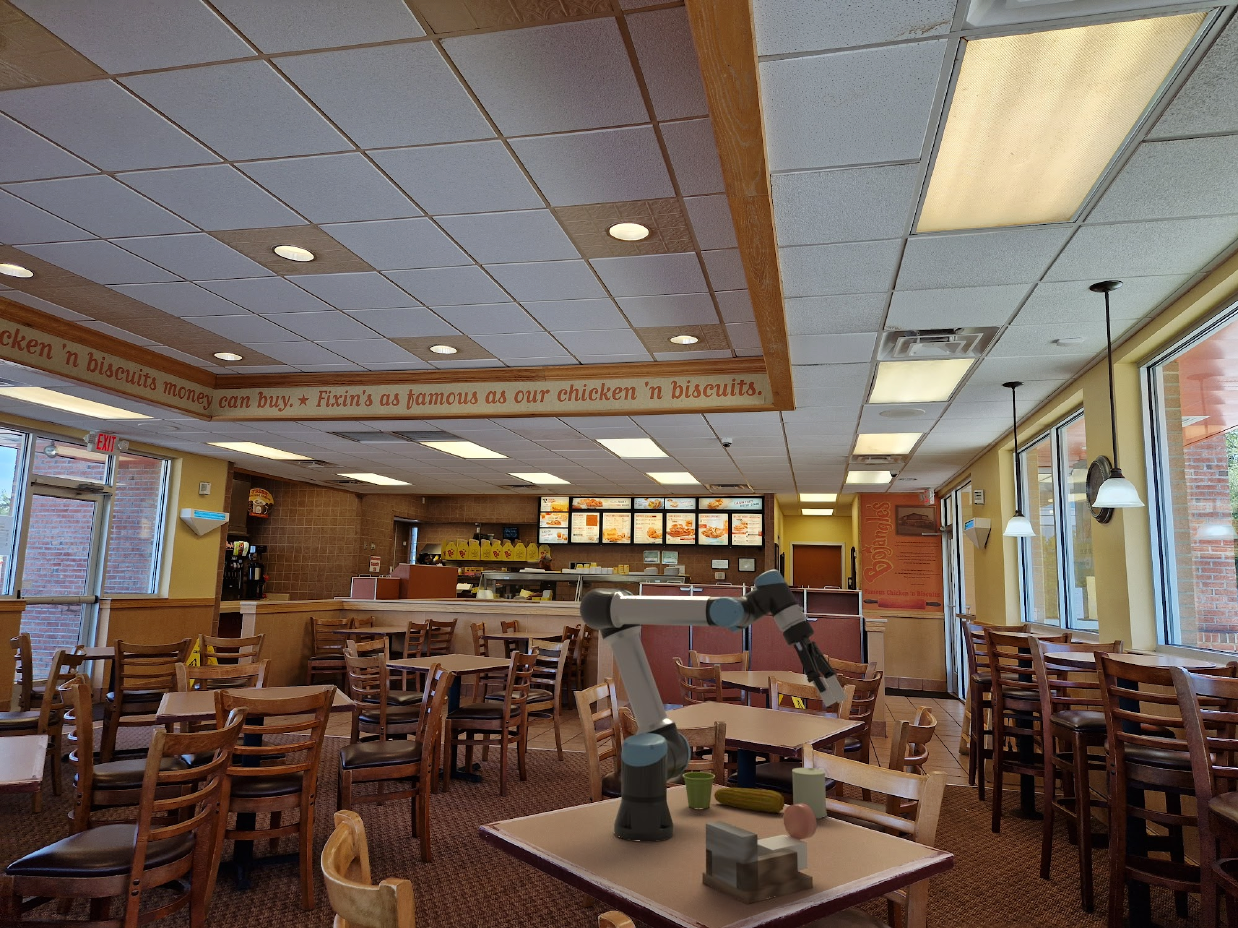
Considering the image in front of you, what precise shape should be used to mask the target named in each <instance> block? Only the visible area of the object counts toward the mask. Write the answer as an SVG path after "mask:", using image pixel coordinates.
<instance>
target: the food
mask: <svg viewBox="0 0 1238 928" xmlns="http://www.w3.org/2000/svg"><path fill="white" fill-rule="evenodd" d="M713 796H714V798H715V799H714V800H715V801H717V802H718V803H720V804H721V805H724V806H727V805H729V807H732V806H735V807H734V808H737V807H738V808H737V809H741V808H743V809H742V810H747V811H757V812H762V813H771V814H777V813H780V812H782V811H784V807H785V797H784V796H782V794H781V793H779V792H778V791H774V790H770V789H758V788H757V789H756V788H746V787H745V788H744V787H743V788H742V787H722V788H718V789H716V791H715V792H714V794H713Z"/></svg>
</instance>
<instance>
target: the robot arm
mask: <svg viewBox="0 0 1238 928" xmlns="http://www.w3.org/2000/svg"><path fill="white" fill-rule="evenodd" d="M753 582H754V585H755V586H754V587H755V588H753V589H752V590H750V591H749V592H747V593H745V594H743V595H742V596H740V597H739V596H735V597H734V596H693V595H692V596H691V595H690V596H687V595H685V596H684V595H680V596H679V595H674V596H673V595H634V594H633V592H630V591H629V590H625V589H623V588H618V587H614V588H607V587H606V588H605V587H599V588H594V589H591V590H590V591H589V590H588V592H587V593H585V595H584V596H583V597H582V598H581V601H580V605H579V614H580V618H581V619H582V621H583V622H584V624H585V625H587V626H588V627H589V628H591V629H593V630H597V631H600V634H601V638H602V640H603V641H602V642H604V643H606V644H608V645H610V648H611V650H612V655H613V657H614V659H615V662H616V665H617V668H618V672H619V674H620V678H621V680H622V683H623V686H624V689H625V692H626V696H627V698H628V702H629V704H630V707H631V710H632V713H633V716H634V719H635V722H636V725H637V731H636V733H635V734H633V735H630V736H628V737H626V738H625V739H624V740H623V742H622V746H621V751H620V752H621V753H620V757H621V787H620V788H621V789H620V790H621V793H620V794H621V797H620V799H621V800H620V804H619V807H618V811H617V814H616V817H615V821H614V823H613V825H614V826H613V833H614V832H615V834H616V835H617V836H616V835H615V834H614V835H615V836H616V837H618V836H620V837H622V838H624V839H623V840H626V839H630V840H629V841H631V840H640V841H639V842H641V841H651V842H657V841H656V840H660V841H664V839H665V840H667V839H670V838H672V837H673V836H674V832H675V831H674V822H673V819H672V815H671V812H670V808H669V805H668V801H667V798H668V797H667V793H668V792H667V791H668V788H667V787H668V786H667V784H668V781H669V780H672V779H674V778H676V777H679V776H680V775H681V774H683V772H684V771H685V770H686V769H687V768H688V766H689V764H690V761H691V757H692V756H691V755H692V754H691V752H692V751H691V747H690V744H689V740H687V738H686V737H685V736H684V734H682V733H680V732H679V729H678V727H677V725H676V722H675V720H673V719H671V718H669V717H668V716H667V715H668V714H667V712H666V709H665V707H664V703H663V700H662V698H661V695H660V692H659V689H658V686H657V684H656V680H655V679H654V675H653V673H652V669H651V666H650V664H649V661H648V658H647V655H646V652H645V649H644V647H643V644H642V641H641V638H640V633H641V630H642V625H654V626H655V625H656V626H686V627H687V626H691V627H694V626H696V627H720V628H727V629H728V630H729V631H731V632H732V633H738V632H740V631H742V630H745V629H747V628H748V627H749V626H751V625H752V624H754V623H756V622H758V621H759V620H760V619H761V620H762V618H764V617H766V616H768V615H769V614H770V615H771V617H773V618H772V619H774V620H773V621H774V622H775V624H776V626H777V627H778V629H779V632H782V636H783V638H784V640H785V642H786V643H787V645H788V646H793V648H794V649H795V651H796V653H797V656H798V658H799V661H800V663H801V665H802V668H803V670H804V673H805V675H806V678H807V679H806V680H807V682H808V683H809V684H810V683H812V684H813V686H814V687H815V689H816V691H817V693H818V695H819V696H820V698H821V700H822V702H823V704H824V706H825V708H827V707H829V706H831V705H833V704H835V703H837V704H840V703H841V702H844V701H846V700H847V699H848V696H847V694H846V693H845V691H844V690H843V688H842V686H841V684H840V682H839V681H838V678H837V676H836V675H837V674H838V673H837V671H836V669H834V668H833V667H832V666H831V664H830V662H829V661H828V660H827V658H826V657H825V655H824V654H823V653H822V651H821V650H820V649H819V647H818V645H817V643H816V642H815V640H812V641H811V640H810V637H812V636H813V635H814V634H815V630H814V629H813V626H812V625H811V623H810V622H809V620H806V615H805V613H804V612H803V611H804V607H803V606H800V605H799V602H798V601H797V599H796V597H795V595H794V593H793V592H792V590H791V588H790V587H789V584H788V582H787V581H786V580H785V578H784V576H783V575H782V574H781V572H780V571H779V569H778V570H777V569H770V570H767V571H765V572H763V573H761V574H760V575H759V576H757V577H756V578H755V579H754V580H753ZM821 675H822V676H821ZM620 837H619V838H620ZM622 838H621V839H622Z"/></svg>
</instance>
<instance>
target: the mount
mask: <svg viewBox="0 0 1238 928" xmlns="http://www.w3.org/2000/svg"><path fill="white" fill-rule="evenodd" d="M760 839H762V838H761V837H758V834H757V833H754V832H752V831H749V830H747V829H744V828H741V827H739V826H736V825H732V824H730V823H727V822H726V821H722V820H717V821H716V820H715V821H711V822H706V823H705V871H703V872H702V873H701V875H702V882H701V883H703V884H704V883H705V885H706V884H707V885H706V886H708V885H709V886H708V887H711V886H712V887H711V888H713V889H715V888H716V889H715V890H717V889H718V890H717V891H719V890H720V891H719V892H721V891H722V892H721V893H723V892H724V893H723V894H725V893H726V894H725V895H727V894H728V895H727V896H729V895H730V896H729V897H731V896H732V897H731V898H733V897H735V898H736V900H738V899H739V900H738V901H740V902H742V901H743V902H742V903H744V902H745V903H744V904H746V905H750V904H749V903H751V904H753V903H752V902H755V903H757V902H756V901H758V902H762V901H765V900H764V899H766V900H768V899H767V898H769V897H774V896H778V897H780V896H784V895H789V894H793V893H796V892H800V891H803V890H808V889H812V888H814V886H813V885H814V883H813V880H814V879H813V876H812V875H809V874H806V873H804V872H801V871H800V870H799V871H798V860H797V852H796V851H793V850H786V851H781V852H776V853H772V854H767V855H763V856H758V840H760ZM792 892H793V893H792ZM735 898H734V899H735ZM774 898H775V897H774ZM761 900H762V901H761Z"/></svg>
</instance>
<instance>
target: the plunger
mask: <svg viewBox="0 0 1238 928" xmlns="http://www.w3.org/2000/svg"><path fill="white" fill-rule="evenodd" d="M783 811H784V812H783V817H782V819H783V825H784V828H785V831H786V833H787V834H788V835H786V834H780V835H775V836H771V837H766V838H761V839H760V840H758V856H763V855H767V854H772V853H776V852H781V851H786V850H793V851H796V852H797V860H798V871H799V872H800V871H803V870H807V869H808V843H807V842H806V841H803V840H805V839H810V838H812V837H814V835H815V834H816V831H817V819H816V818H815V815H814V813H813V811H812V809H811V808H810V807H809V806H808V805H806V804H803V803H801V804H795V805H793V804H790V805H788V806H787V807H785V810H783Z"/></svg>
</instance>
